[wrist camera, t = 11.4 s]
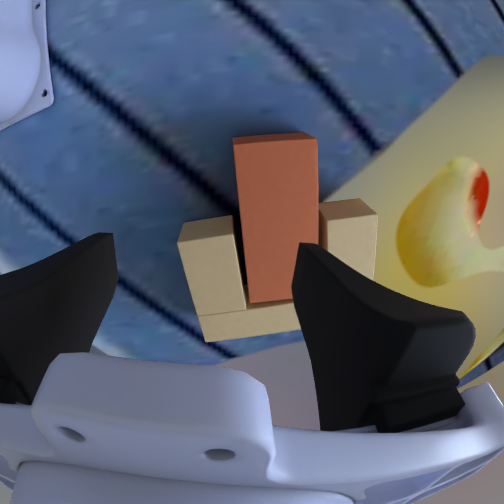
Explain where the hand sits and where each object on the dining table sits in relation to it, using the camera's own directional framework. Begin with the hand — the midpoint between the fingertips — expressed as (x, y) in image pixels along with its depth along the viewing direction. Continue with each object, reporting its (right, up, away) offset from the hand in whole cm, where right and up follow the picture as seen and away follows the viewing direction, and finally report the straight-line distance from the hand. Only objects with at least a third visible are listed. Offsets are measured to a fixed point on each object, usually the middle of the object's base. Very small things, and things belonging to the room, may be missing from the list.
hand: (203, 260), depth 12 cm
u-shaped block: (+4, 0, +10) cm, 11 cm away
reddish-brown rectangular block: (+3, +3, +9) cm, 10 cm away
